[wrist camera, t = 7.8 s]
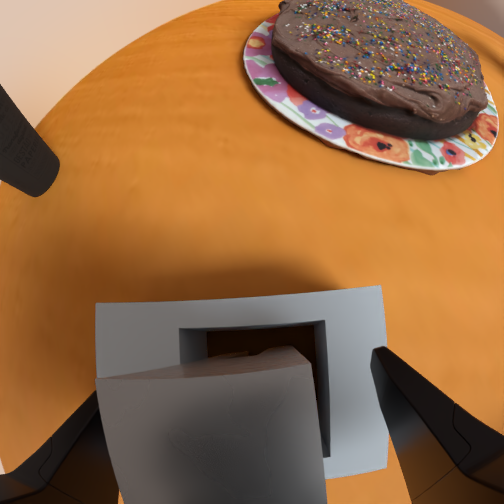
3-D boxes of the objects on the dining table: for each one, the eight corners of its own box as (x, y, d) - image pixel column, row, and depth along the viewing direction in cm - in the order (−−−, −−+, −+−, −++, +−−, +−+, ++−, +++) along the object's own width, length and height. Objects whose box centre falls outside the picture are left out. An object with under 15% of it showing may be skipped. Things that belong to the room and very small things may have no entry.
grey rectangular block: (300, 407, 16) (330, 542, 3) (234, 415, 16) (138, 539, 3) (291, 344, 17) (311, 363, 4) (225, 353, 17) (94, 378, 5)
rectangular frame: (362, 438, 14) (386, 467, 10) (146, 440, 16) (108, 464, 11) (355, 299, 17) (380, 284, 12) (138, 313, 18) (95, 302, 14)
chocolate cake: (361, 239, 19) (392, 193, 12) (203, 42, 27) (190, -2, 21) (525, 132, 20) (550, 99, 14) (378, 4, 28) (383, -29, 22)
